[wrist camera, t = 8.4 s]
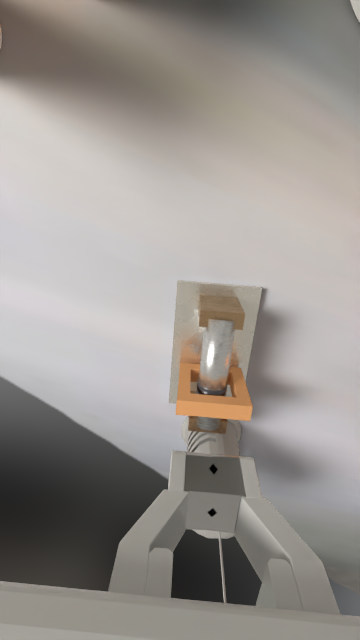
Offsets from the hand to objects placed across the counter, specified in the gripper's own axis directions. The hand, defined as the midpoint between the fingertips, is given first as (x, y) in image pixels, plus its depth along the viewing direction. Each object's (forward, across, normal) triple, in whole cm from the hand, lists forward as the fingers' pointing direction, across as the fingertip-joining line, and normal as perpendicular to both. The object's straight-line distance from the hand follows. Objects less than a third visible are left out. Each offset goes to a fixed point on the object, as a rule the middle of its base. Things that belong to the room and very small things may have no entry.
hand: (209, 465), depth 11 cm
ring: (+28, -2, +13) cm, 31 cm away
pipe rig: (+29, -2, +10) cm, 31 cm away
